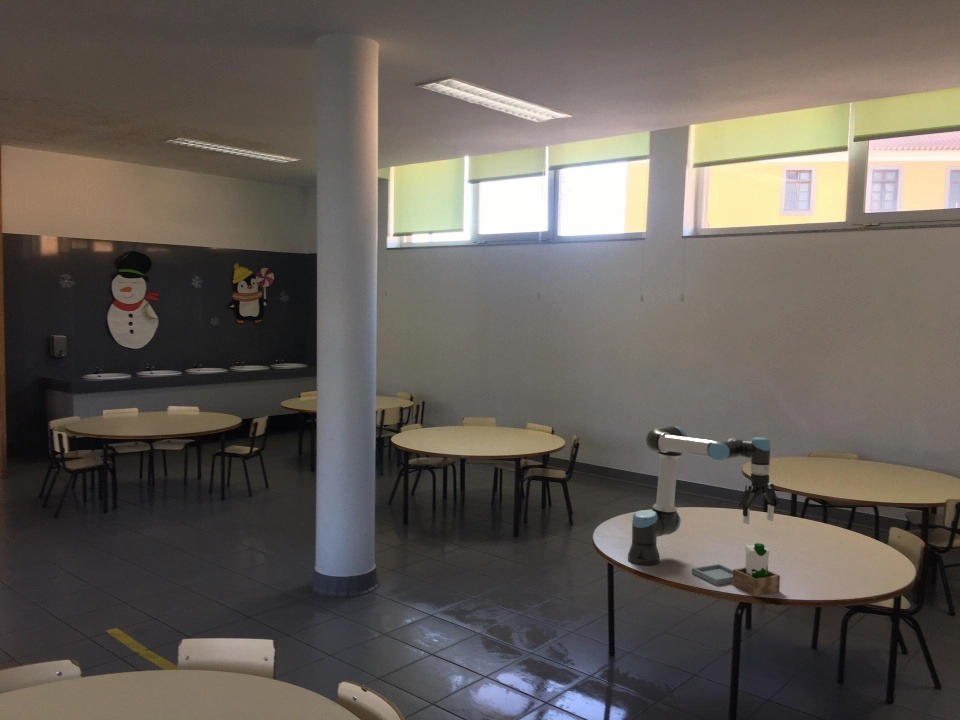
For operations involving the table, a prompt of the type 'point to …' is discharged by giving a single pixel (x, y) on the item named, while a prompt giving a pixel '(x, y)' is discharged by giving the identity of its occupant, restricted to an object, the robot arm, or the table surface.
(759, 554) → the soya milk
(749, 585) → the holder
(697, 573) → the tray
